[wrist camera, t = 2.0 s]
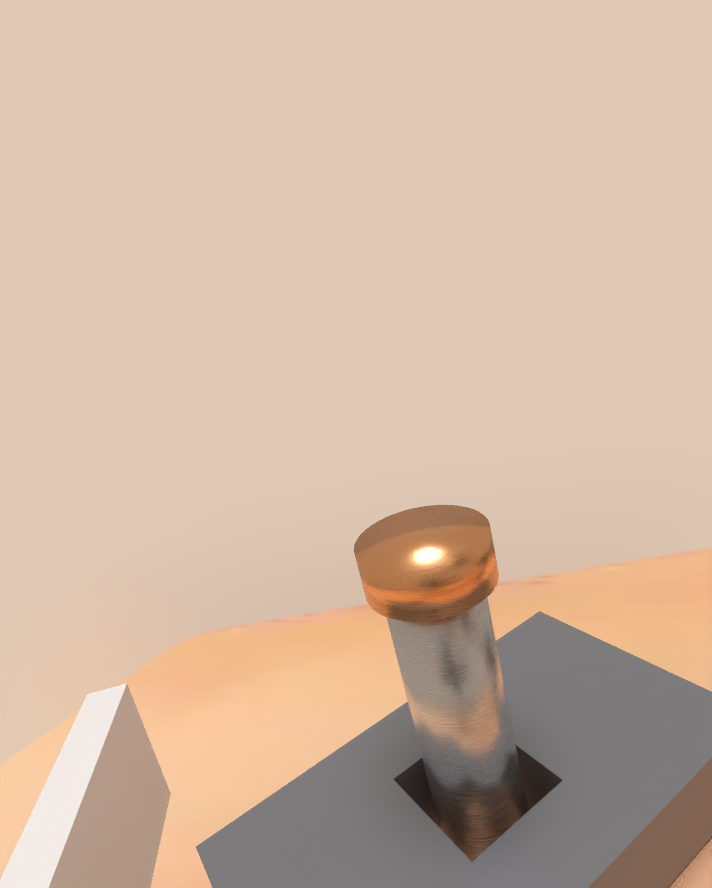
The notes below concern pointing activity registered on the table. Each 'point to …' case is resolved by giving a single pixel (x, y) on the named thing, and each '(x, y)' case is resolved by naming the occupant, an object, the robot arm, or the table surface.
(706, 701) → the socket block
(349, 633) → the table surface
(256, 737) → the table surface
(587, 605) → the table surface
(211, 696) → the table surface
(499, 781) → the plug
